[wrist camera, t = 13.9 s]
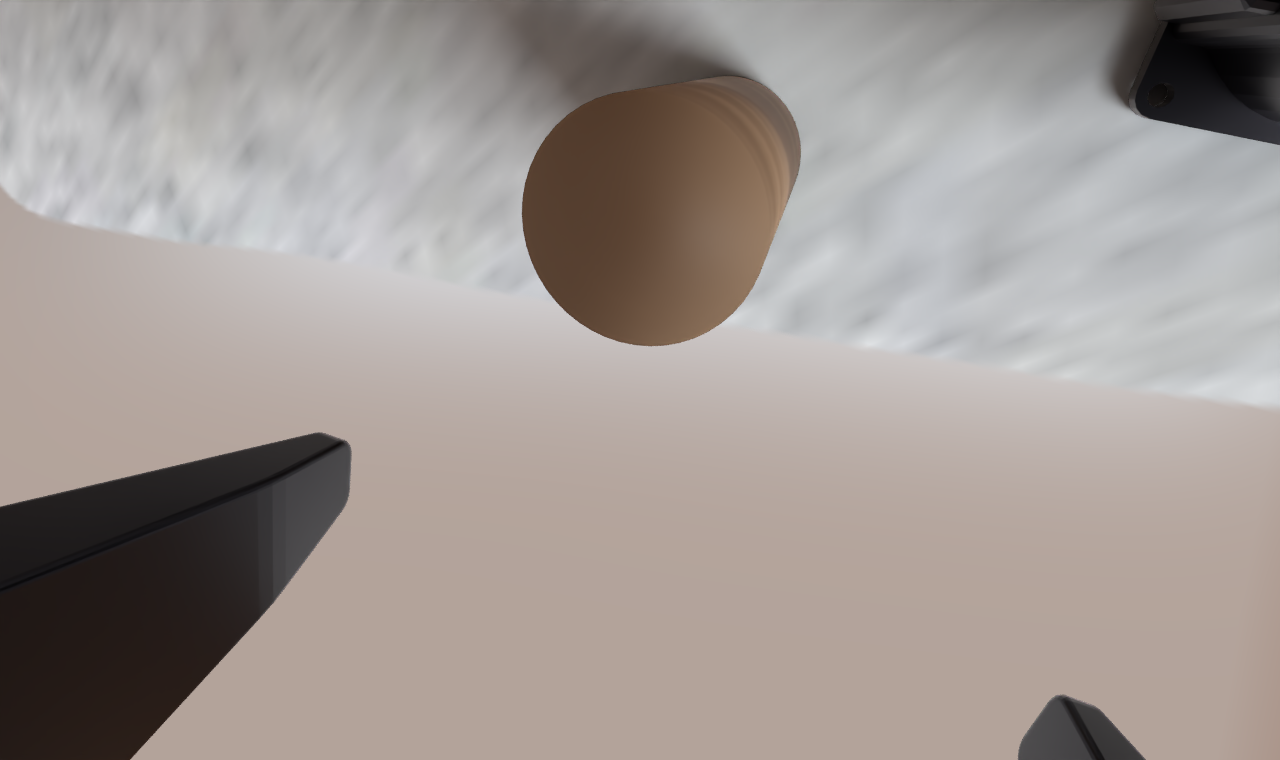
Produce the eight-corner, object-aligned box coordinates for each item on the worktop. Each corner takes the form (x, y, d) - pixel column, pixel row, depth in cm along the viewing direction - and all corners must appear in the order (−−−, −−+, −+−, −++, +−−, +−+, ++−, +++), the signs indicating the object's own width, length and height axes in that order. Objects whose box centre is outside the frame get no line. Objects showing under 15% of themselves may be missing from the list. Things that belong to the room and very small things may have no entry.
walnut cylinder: (819, 93, 18) (800, 121, 10) (778, 246, 20) (734, 373, 12) (667, 61, 19) (536, 65, 11) (640, 212, 21) (511, 312, 13)
